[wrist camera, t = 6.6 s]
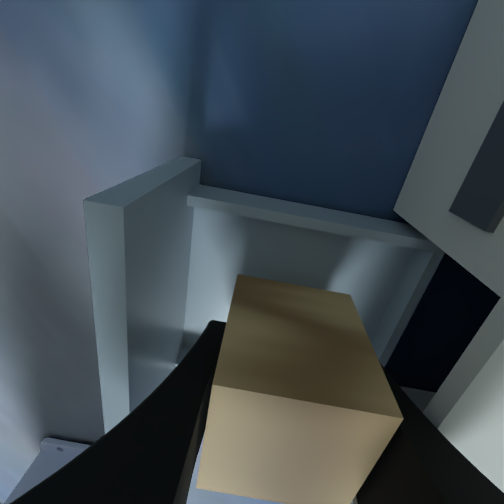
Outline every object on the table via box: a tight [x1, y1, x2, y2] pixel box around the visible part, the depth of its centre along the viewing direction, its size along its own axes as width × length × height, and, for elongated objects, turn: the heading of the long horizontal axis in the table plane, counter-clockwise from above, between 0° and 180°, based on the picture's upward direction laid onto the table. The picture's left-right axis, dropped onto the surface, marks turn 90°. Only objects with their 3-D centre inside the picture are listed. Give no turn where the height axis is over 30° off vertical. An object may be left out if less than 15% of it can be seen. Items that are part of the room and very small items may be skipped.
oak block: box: [196, 274, 404, 504], centre depth 10 cm, size 4×4×5 cm
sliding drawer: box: [83, 156, 445, 434], centre depth 11 cm, size 10×11×7 cm
